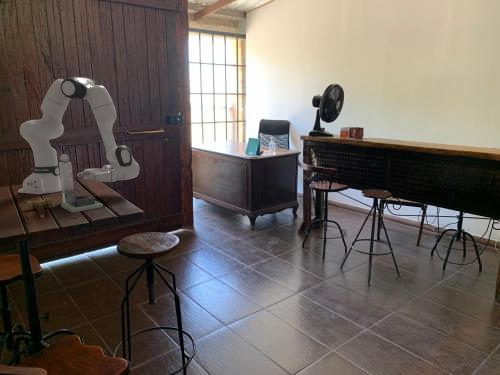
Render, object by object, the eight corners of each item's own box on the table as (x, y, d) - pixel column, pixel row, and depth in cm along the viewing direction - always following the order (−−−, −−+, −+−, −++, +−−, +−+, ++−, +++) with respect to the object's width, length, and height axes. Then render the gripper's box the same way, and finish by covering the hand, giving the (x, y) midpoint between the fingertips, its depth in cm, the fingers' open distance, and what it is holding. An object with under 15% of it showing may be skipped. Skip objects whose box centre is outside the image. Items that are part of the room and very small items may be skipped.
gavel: (55, 210, 163) (28, 214, 158) (56, 220, 165) (29, 224, 160) (51, 197, 181) (26, 199, 176) (52, 206, 182) (28, 209, 177)
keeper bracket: (90, 201, 190) (89, 187, 189) (103, 207, 180) (101, 192, 179) (61, 206, 181) (59, 192, 179) (72, 212, 171) (70, 197, 169)
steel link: (72, 201, 190) (67, 153, 185) (75, 203, 187) (70, 154, 182) (63, 202, 187) (58, 154, 182) (65, 204, 184) (60, 154, 179)
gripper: (100, 164, 205) (73, 167, 196) (116, 169, 190) (87, 172, 181) (101, 176, 206) (74, 179, 197) (116, 182, 191) (88, 186, 182)
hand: (80, 176), depth 189 cm, fingers open, 8 cm apart
